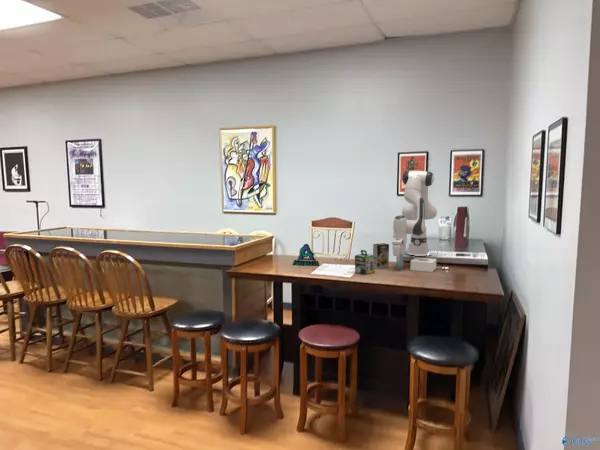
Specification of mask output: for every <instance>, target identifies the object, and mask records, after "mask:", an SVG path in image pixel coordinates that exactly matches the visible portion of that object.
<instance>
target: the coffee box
mask: <svg viewBox="0 0 600 450" xmlns="http://www.w3.org/2000/svg"><path fill="white" fill-rule="evenodd" d="M372 255H374V269H377V270H378V269H386V268H387V269H389V267H390V266H389V265H390V262H389V261H390V244H389V243H385V242H384V243H372Z"/></svg>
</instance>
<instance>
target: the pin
mask: <svg viewBox="0 0 600 450" xmlns="http://www.w3.org/2000/svg"><path fill="white" fill-rule="evenodd" d="M403 255H404V253H402V254H401V255H400V261H397V260H396V263H395V264H396V269H398V270H400V269H403V264H404V263H403V262H404V261H403V259H404V257H403Z"/></svg>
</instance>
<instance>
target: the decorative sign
mask: <svg viewBox="0 0 600 450" xmlns="http://www.w3.org/2000/svg"><path fill="white" fill-rule="evenodd" d="M297 257H298V258H297V259H294V260H293V262H292V266H311V267H313V266H314V267H315V266H316V267H319V266H320V263H319V260H317V259H316V258H315V255H314V252H313V251H312V250H311V247H310V245H309V243H304V244H303V246H302V247H301V248H300V249H299V255H298V256H297Z"/></svg>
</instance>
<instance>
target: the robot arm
mask: <svg viewBox="0 0 600 450" xmlns="http://www.w3.org/2000/svg"><path fill="white" fill-rule="evenodd" d="M401 180H402V183H403V184H404V185H405V187H404V192H403V197H404V200H405V201H406V202H407V203H409V204H410V205H405V206H403V207H402V210H401V215H396V216H395V217H394V219H393V223H392V225H393V226H392V229H393V230H392V231H393V234H392V241H391V244H392V255H393V257H396V262H397V261H400V255H401V254H402V253H403V254H404V253H405V252H406V250H407V249H408V251H407V253H413V254H426V253H428V251H429V252H430V249H429V244H428V243H427V242H428V238H427V227H426V224H425V220H434V219H435V218H436V216H437V214H438V210H437V208H436V206H434V205H432V204H431V202H430V201H429V196H428V191H429V190H428V189H429V188H428V187H430V186H432V185H433V183H434V180H435V176H434V173H433V172H432V171H425V170H405V171H404V172H403V174H402V177H401ZM408 235H410V236H411V237H410V243H408V247H407V245H406V244H407V241H408V239H407V236H408Z"/></svg>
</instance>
